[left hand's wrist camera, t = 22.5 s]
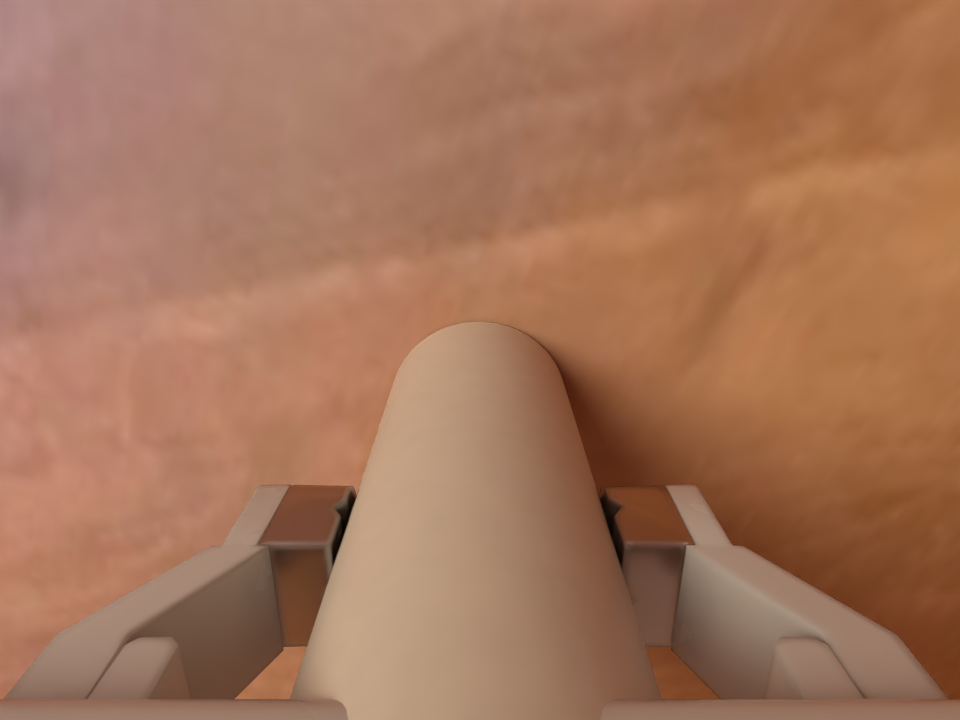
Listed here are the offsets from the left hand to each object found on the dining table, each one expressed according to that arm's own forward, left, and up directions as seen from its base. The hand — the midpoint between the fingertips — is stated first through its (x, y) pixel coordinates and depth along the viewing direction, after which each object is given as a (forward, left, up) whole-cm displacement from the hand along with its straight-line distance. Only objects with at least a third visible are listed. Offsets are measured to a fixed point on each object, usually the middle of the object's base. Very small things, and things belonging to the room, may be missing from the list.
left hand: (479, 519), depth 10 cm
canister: (0, 0, -4) cm, 4 cm away
